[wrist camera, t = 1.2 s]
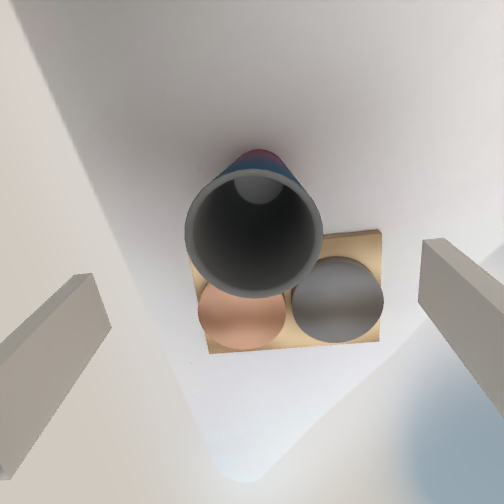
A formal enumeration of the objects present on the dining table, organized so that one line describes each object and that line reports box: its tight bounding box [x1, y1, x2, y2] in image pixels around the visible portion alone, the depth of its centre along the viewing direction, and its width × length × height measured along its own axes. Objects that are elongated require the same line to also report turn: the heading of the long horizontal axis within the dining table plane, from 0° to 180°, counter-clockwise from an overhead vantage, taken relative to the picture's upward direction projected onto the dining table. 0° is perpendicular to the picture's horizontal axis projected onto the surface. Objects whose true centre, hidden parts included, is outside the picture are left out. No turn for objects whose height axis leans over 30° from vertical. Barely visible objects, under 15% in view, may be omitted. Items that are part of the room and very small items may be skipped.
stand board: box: [188, 230, 384, 354], centre depth 34 cm, size 12×18×3 cm, turn 97°
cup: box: [185, 150, 323, 299], centre depth 24 cm, size 7×7×15 cm
